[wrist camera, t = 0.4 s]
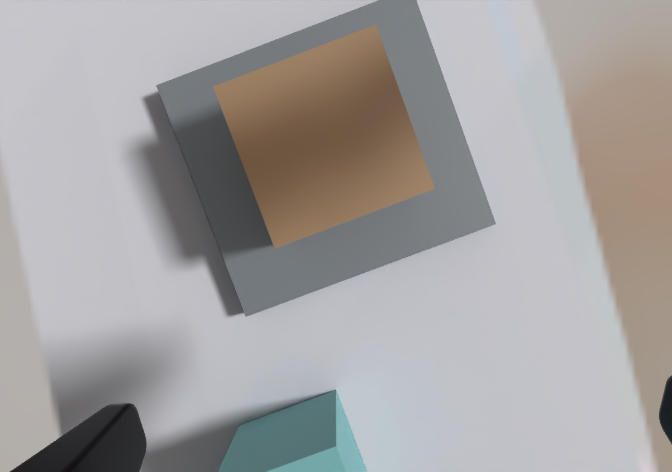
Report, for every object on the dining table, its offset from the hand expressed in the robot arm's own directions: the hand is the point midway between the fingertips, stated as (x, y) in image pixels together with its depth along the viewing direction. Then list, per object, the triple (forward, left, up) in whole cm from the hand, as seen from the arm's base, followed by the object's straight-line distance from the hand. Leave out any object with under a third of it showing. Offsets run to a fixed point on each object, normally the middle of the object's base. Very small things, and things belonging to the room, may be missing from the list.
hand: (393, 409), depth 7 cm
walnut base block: (+6, -1, -12) cm, 13 cm away
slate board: (+6, -1, -13) cm, 14 cm away
